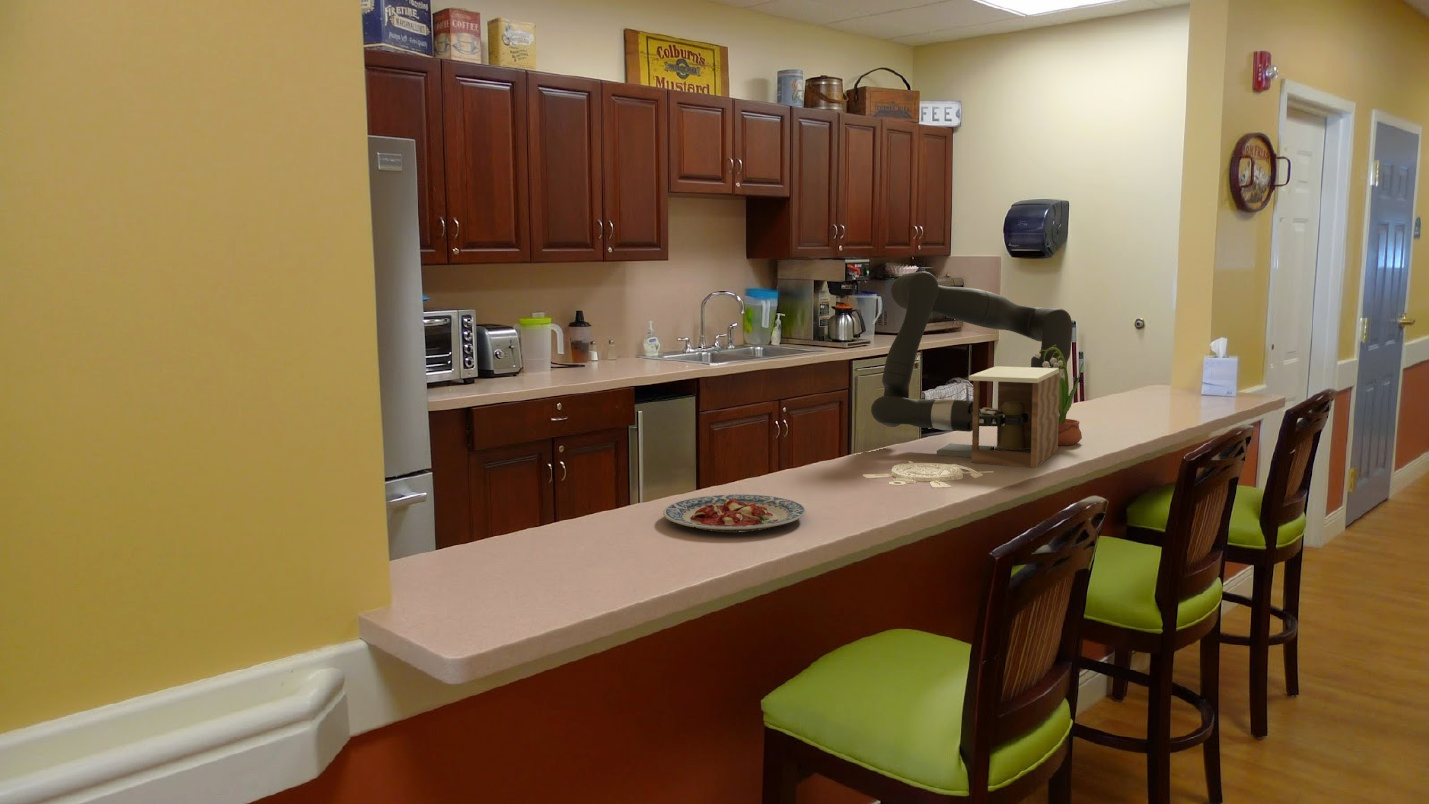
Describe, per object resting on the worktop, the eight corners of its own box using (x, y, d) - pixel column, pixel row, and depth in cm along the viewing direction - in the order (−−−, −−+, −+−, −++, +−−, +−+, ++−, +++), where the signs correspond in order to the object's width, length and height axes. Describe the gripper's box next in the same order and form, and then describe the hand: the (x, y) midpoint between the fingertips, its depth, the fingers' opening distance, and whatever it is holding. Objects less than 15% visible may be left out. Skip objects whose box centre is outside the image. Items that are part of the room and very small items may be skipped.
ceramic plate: (635, 520, 188) (635, 504, 187) (744, 499, 203) (744, 484, 203) (721, 548, 167) (721, 531, 167) (835, 523, 183) (835, 506, 182)
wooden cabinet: (994, 445, 256) (995, 366, 253) (1057, 450, 249) (1059, 368, 246) (967, 462, 235) (968, 375, 233) (1036, 467, 228) (1038, 378, 225)
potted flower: (1032, 445, 255) (1034, 345, 252) (1031, 439, 265) (1034, 342, 261) (1082, 447, 252) (1085, 346, 248) (1080, 440, 261) (1083, 343, 258)
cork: (1007, 443, 246) (1008, 398, 245) (1030, 446, 242) (1031, 400, 240) (994, 447, 242) (995, 401, 241) (1017, 450, 238) (1018, 403, 236)
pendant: (1001, 472, 227) (1001, 466, 226) (938, 494, 206) (938, 487, 205) (916, 461, 241) (916, 455, 240) (849, 481, 220) (849, 475, 219)
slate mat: (950, 447, 255) (950, 443, 255) (994, 450, 250) (994, 446, 249) (936, 454, 245) (936, 450, 245) (982, 458, 240) (982, 453, 240)
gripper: (945, 403, 241) (1018, 407, 233) (962, 396, 254) (1032, 399, 245) (944, 435, 242) (1018, 440, 234) (961, 425, 255) (1032, 430, 246)
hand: (1025, 419), depth 240 cm, fingers closed on cork, 4 cm apart
